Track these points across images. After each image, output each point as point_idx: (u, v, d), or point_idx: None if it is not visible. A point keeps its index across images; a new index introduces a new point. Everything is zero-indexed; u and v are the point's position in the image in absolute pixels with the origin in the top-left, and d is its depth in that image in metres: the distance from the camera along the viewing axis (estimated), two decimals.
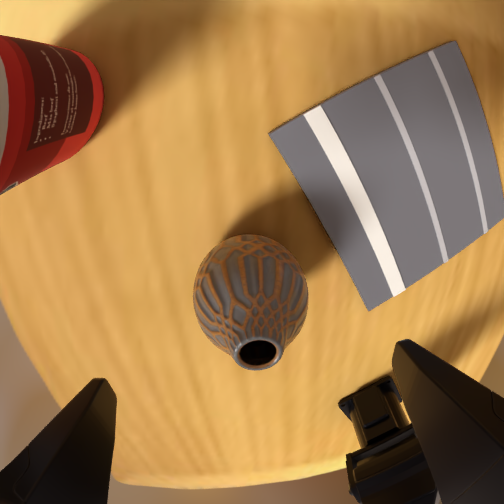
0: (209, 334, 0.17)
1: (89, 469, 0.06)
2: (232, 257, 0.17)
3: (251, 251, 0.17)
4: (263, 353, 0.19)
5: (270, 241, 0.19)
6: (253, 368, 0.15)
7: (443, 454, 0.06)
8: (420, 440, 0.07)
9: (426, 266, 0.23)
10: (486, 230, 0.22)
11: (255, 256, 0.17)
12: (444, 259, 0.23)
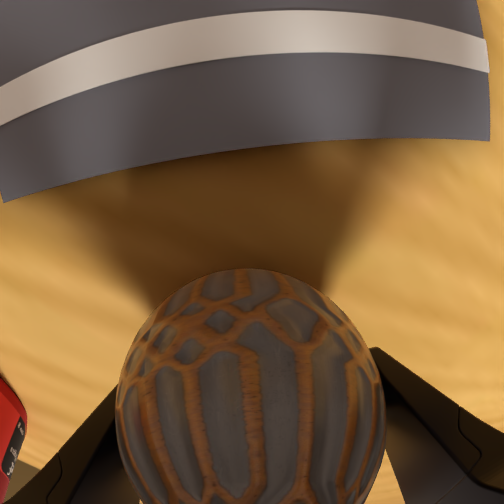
0: None
1: (123, 473, 0.06)
2: None
3: (117, 398, 0.06)
4: None
5: (147, 322, 0.07)
6: None
7: (408, 468, 0.06)
8: (387, 451, 0.07)
9: None
10: None
11: (118, 410, 0.06)
12: None
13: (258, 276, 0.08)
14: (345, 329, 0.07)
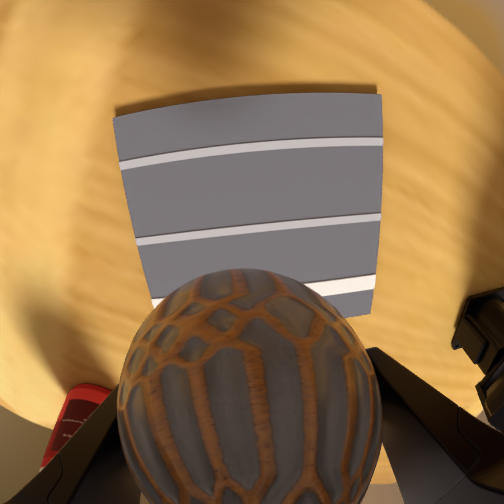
0: None
1: (123, 474, 0.06)
2: None
3: (119, 399, 0.06)
4: None
5: (146, 323, 0.07)
6: None
7: (407, 468, 0.06)
8: (387, 451, 0.07)
9: (368, 244, 0.21)
10: (380, 140, 0.18)
11: (121, 410, 0.06)
12: (375, 219, 0.20)
13: (254, 275, 0.08)
14: (340, 324, 0.07)
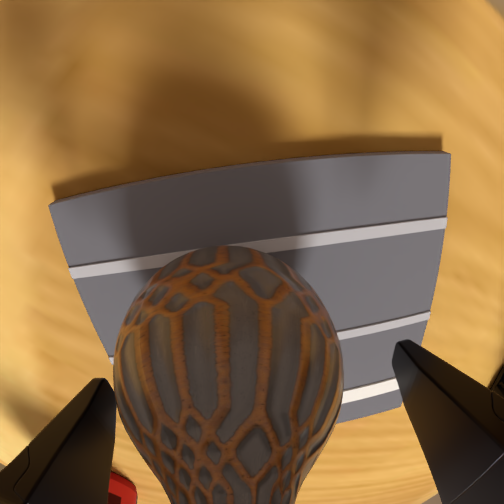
0: None
1: (89, 469, 0.06)
2: None
3: (115, 348, 0.08)
4: None
5: (144, 286, 0.09)
6: None
7: (443, 454, 0.06)
8: (420, 440, 0.07)
9: None
10: (443, 222, 0.12)
11: (116, 356, 0.07)
12: (423, 319, 0.14)
13: (236, 250, 0.09)
14: (305, 294, 0.08)
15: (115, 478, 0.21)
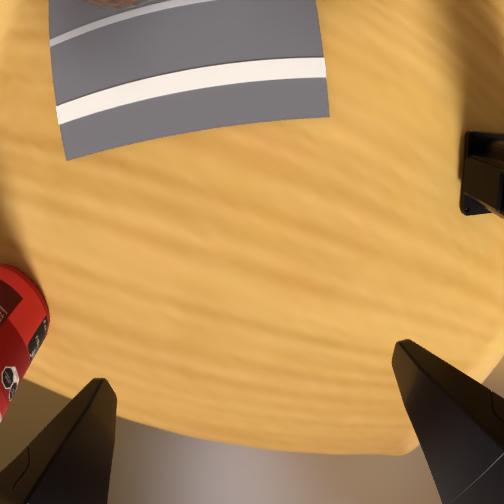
0: None
1: (89, 469, 0.06)
2: None
3: None
4: None
5: None
6: None
7: (443, 454, 0.06)
8: (420, 440, 0.07)
9: (304, 19, 0.14)
10: None
11: None
12: None
13: None
14: None
15: (25, 279, 0.20)
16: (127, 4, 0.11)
